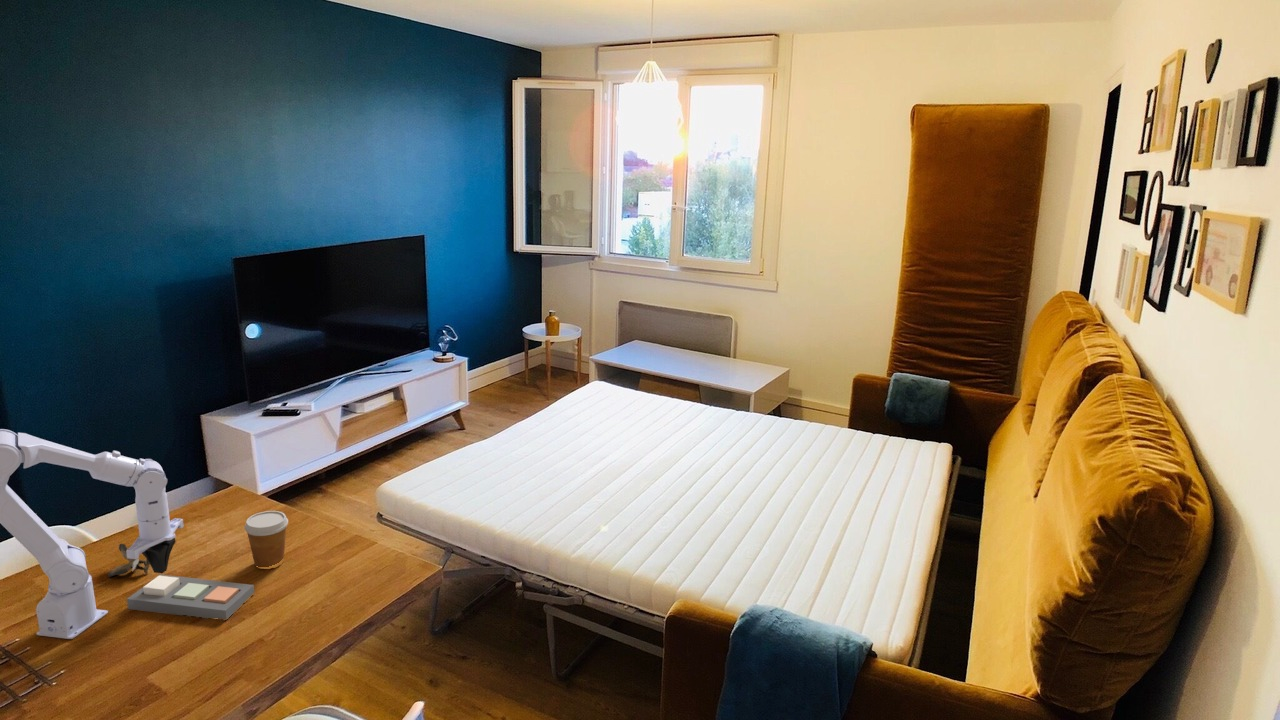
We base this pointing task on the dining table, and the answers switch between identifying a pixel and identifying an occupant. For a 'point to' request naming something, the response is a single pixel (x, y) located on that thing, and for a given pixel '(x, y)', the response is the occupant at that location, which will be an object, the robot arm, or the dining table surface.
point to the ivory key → (161, 586)
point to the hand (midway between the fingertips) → (160, 571)
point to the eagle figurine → (129, 564)
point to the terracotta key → (221, 595)
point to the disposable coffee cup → (267, 537)
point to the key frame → (191, 606)
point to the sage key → (191, 591)
